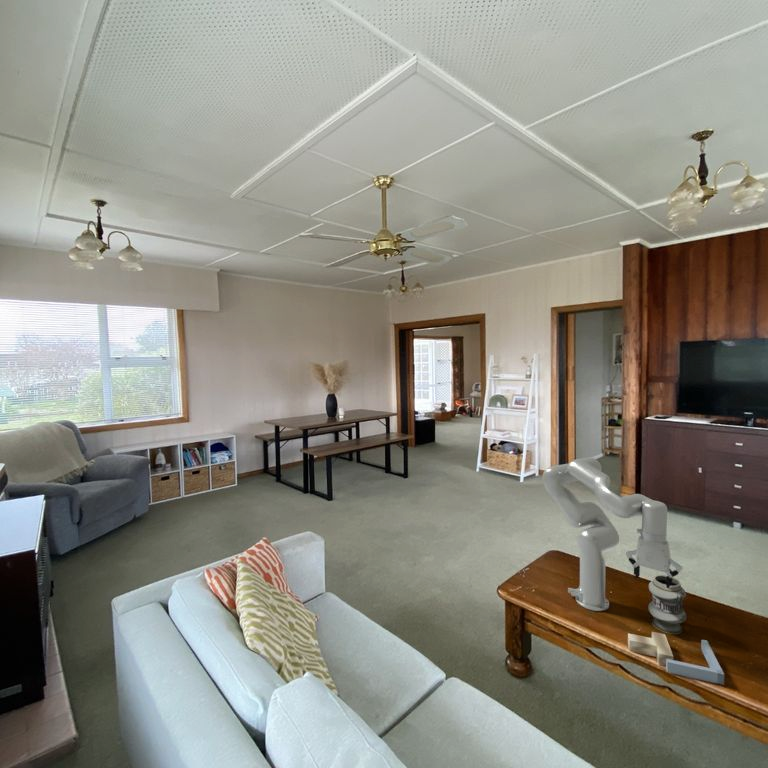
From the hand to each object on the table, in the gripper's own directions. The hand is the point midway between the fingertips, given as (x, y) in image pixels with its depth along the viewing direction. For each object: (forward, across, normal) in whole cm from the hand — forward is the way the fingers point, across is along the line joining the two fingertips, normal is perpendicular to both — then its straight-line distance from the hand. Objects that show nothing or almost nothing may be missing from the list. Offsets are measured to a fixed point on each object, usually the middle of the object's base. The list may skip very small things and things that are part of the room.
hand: (652, 581), depth 153 cm
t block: (+21, +1, -9) cm, 23 cm away
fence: (+21, +12, -5) cm, 25 cm away
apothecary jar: (+21, +3, +11) cm, 24 cm away
